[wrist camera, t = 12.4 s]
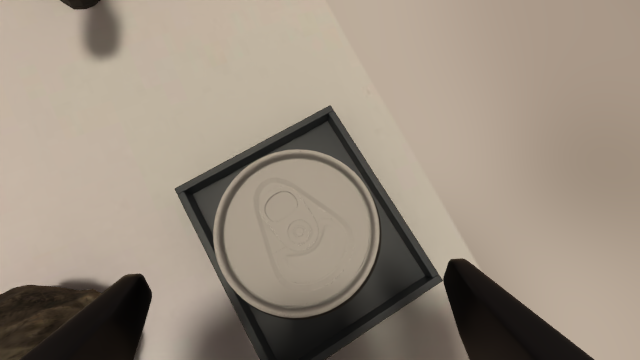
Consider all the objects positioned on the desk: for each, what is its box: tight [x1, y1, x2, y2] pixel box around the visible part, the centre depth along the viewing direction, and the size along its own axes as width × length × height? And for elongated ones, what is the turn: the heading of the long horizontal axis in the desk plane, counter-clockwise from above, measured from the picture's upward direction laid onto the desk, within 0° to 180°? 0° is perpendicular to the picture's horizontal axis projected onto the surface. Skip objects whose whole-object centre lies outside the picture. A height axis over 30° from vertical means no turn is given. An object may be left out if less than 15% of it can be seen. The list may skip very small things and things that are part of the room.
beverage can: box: [213, 149, 382, 320], centre depth 16 cm, size 7×7×12 cm
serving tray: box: [175, 106, 443, 360], centre depth 21 cm, size 15×13×2 cm
